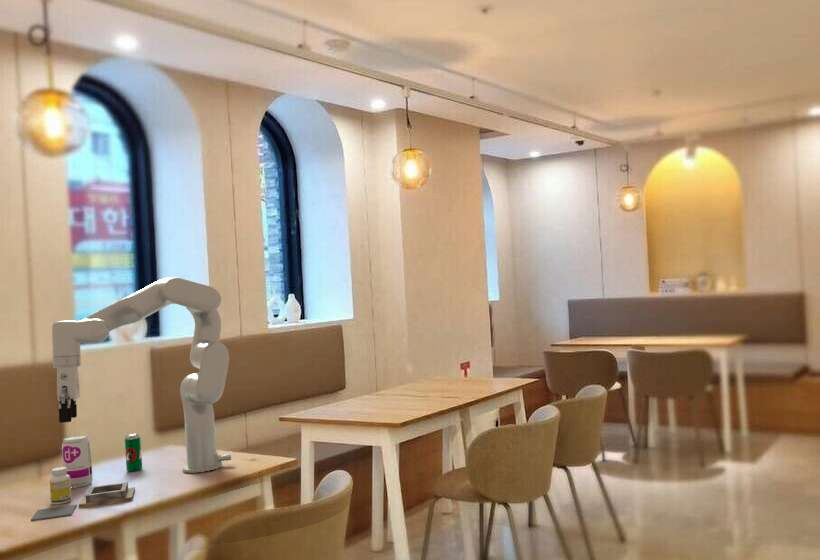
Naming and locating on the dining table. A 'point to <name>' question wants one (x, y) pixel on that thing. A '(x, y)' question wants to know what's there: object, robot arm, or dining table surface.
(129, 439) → the soda can
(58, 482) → the supplement bottle
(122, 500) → the block
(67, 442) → the supplement can
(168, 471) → the dining table surface
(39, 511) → the mat
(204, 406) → the robot arm
